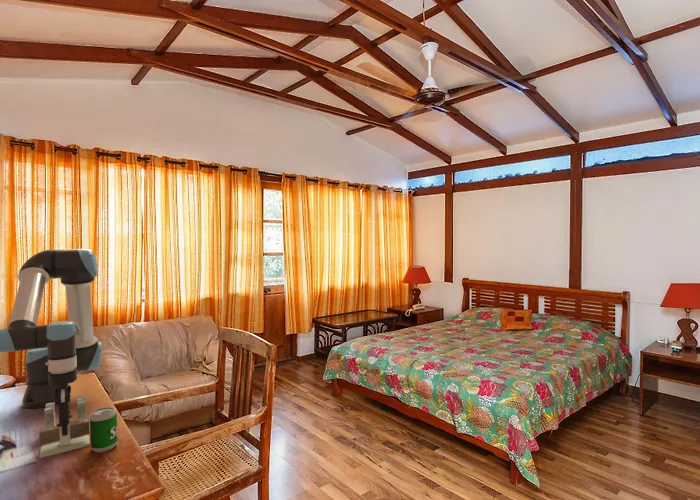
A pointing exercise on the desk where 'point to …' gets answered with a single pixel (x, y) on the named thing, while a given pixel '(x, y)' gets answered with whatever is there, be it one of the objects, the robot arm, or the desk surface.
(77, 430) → the rail
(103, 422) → the soda can
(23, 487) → the desk surface
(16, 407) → the desk surface
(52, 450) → the mat
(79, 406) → the rack
